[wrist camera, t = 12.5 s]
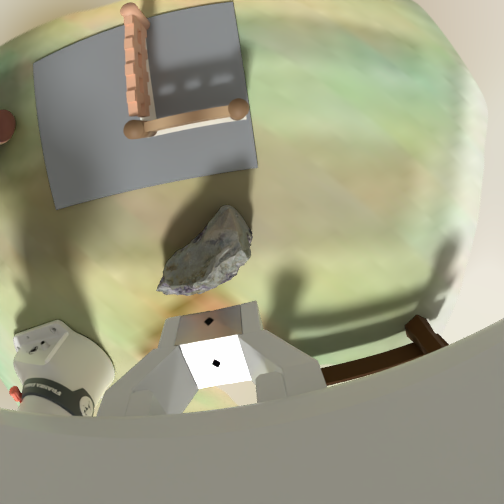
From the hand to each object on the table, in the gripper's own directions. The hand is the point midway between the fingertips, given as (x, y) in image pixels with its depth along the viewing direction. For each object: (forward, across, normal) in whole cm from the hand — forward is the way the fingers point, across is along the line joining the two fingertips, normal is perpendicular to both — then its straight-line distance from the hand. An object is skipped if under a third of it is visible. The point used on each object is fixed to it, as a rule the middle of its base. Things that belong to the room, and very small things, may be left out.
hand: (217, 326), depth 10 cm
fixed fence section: (+29, +2, -8) cm, 30 cm away
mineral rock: (+29, +5, +8) cm, 31 cm away
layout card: (+29, +9, -12) cm, 33 cm away
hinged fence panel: (+28, +6, -16) cm, 33 cm away
